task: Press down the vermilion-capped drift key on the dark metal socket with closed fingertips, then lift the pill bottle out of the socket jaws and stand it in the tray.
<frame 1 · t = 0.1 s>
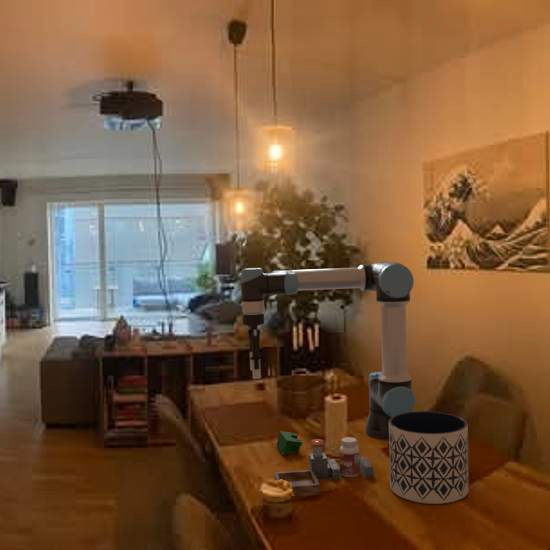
hand: (255, 374, 221), 28 cm above the table, fingers open, 13 cm apart
planter: (428, 490, 187), on the table
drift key: (317, 452, 199), point 8 cm above the table, slide at 0.0 cm
clamp: (289, 451, 224), on the table
tray: (296, 488, 191), on the table
socket: (349, 474, 201), on the table
pill bottle: (350, 474, 201), on the table
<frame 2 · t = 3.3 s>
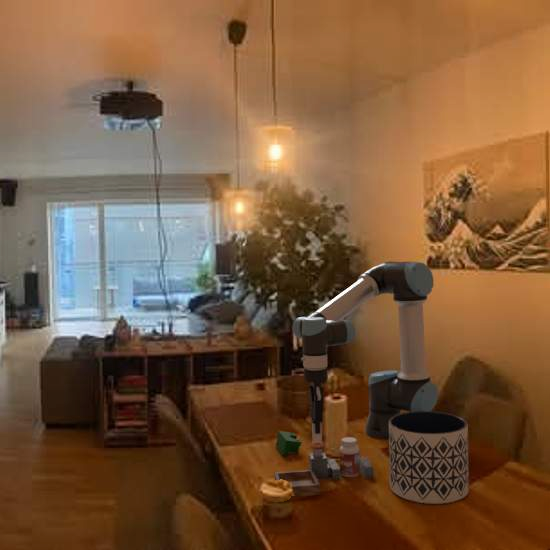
hand: (317, 442, 199), 11 cm above the table, fingers closed
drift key: (317, 454, 200), point 7 cm above the table, slide at 0.7 cm, touching gripper
everything else where it was.
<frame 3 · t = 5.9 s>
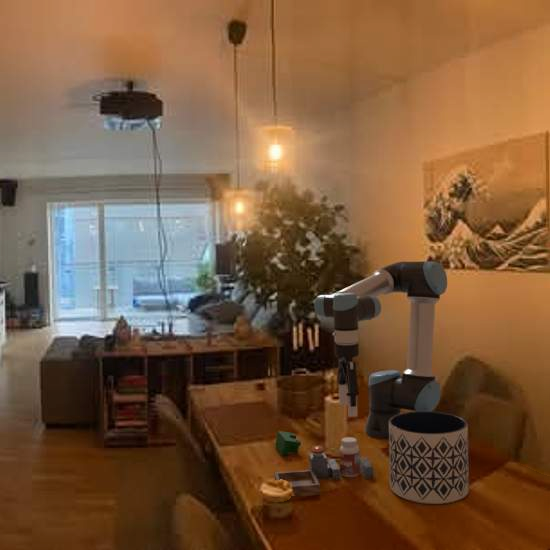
hand: (348, 410, 200), 20 cm above the table, fingers open, 13 cm apart
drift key: (318, 458, 200), point 6 cm above the table, slide at 2.1 cm
everything else where it was.
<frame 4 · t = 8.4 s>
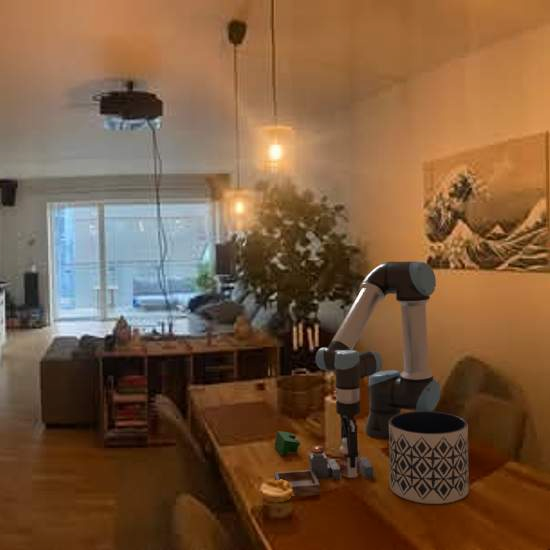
hand: (349, 472, 201), 0 cm above the table, fingers closed on pill bottle, 6 cm apart
pill bottle: (350, 474, 201), on the table, touching gripper
everything else where it was.
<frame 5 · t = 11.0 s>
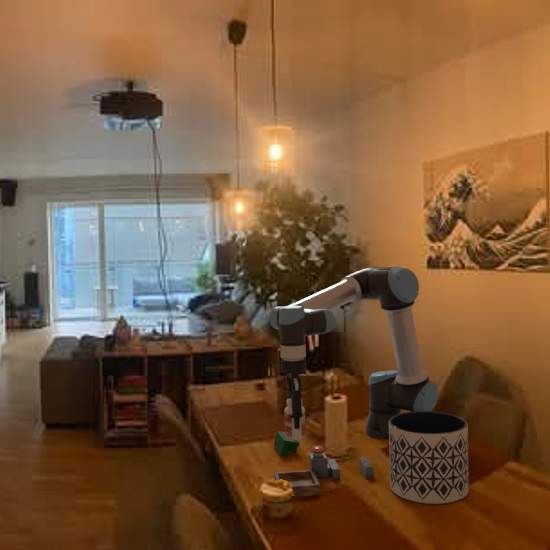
hand: (295, 435, 190), 16 cm above the table, fingers closed on pill bottle, 6 cm apart
pill bottle: (295, 437, 190), point 16 cm above the table, touching gripper
everything else where it was.
when the fingers open (3 cm above the table, at t = 13.8 s): pill bottle drops 1 cm, resting on tray.
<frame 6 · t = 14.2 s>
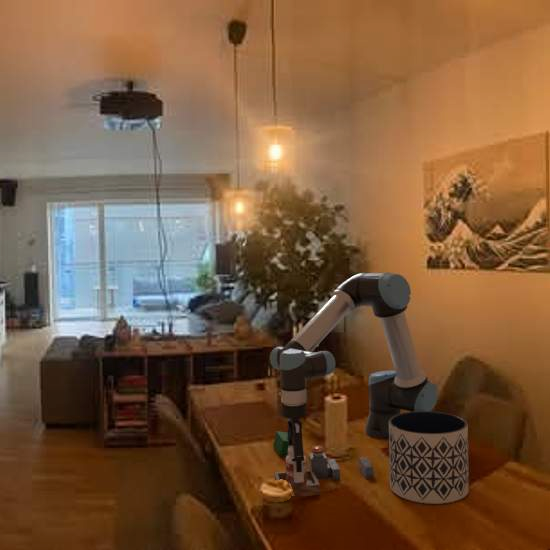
hand: (296, 474, 191), 4 cm above the table, fingers open, 12 cm apart
pill bottle: (296, 485, 191), point 1 cm above the table, touching tray
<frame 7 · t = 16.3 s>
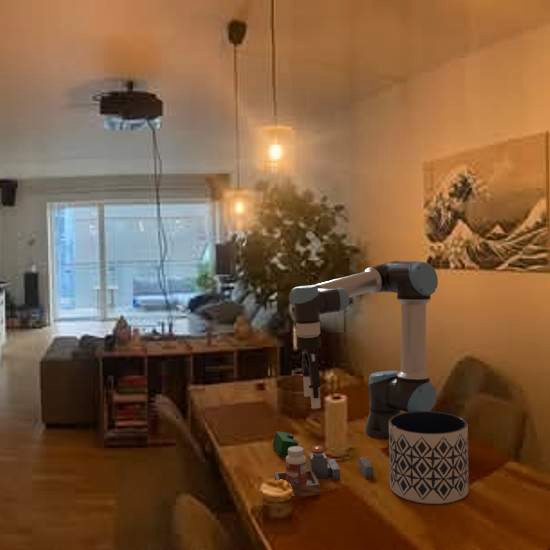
hand: (312, 402, 201), 23 cm above the table, fingers open, 13 cm apart
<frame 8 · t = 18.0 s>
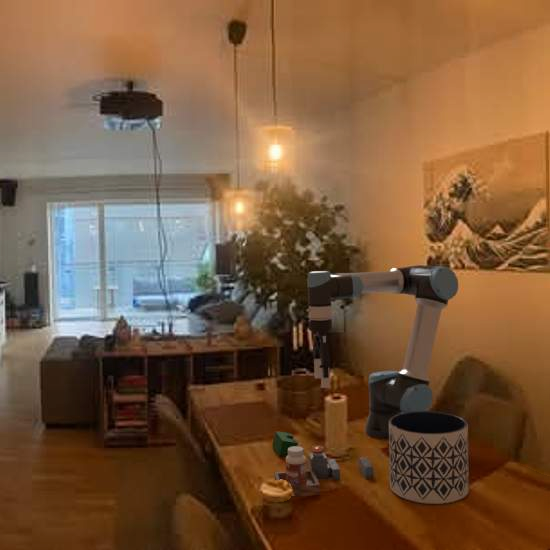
hand: (322, 382, 211), 27 cm above the table, fingers open, 13 cm apart
at the end: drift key slide at 2.1 cm; pill bottle inside the target area on the tray (0.1 cm from its centre), point 0.8 cm above the tray's base; pill bottle tilted 0° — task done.
